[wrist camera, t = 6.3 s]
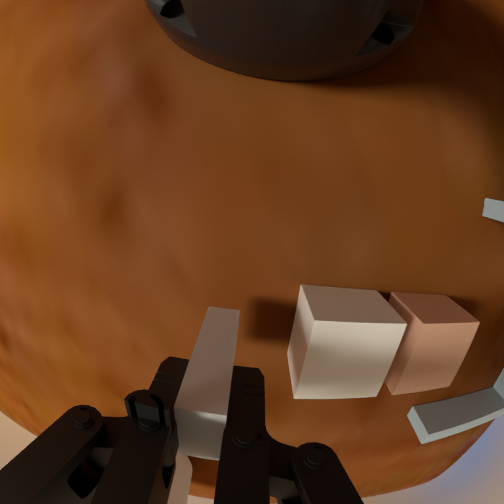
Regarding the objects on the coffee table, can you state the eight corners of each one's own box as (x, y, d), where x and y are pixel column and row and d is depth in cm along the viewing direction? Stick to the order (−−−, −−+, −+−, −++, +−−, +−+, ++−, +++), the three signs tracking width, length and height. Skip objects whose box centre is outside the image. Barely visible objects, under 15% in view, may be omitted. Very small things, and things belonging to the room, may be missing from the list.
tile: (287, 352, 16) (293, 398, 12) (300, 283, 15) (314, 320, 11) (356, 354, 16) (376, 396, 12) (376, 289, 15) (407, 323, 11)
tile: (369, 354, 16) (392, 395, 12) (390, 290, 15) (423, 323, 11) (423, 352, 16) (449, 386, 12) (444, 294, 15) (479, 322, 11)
